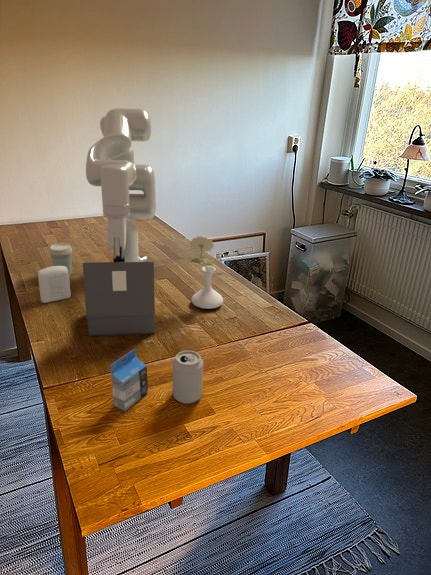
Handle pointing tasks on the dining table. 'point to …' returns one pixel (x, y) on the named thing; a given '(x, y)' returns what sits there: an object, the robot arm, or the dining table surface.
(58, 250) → the coffee cup
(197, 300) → the flower in vase
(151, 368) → the dining table surface
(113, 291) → the mailer lid
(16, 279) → the dining table surface
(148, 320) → the box
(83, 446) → the dining table surface
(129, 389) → the label tape box
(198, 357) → the can
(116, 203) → the robot arm
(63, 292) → the photo printer
